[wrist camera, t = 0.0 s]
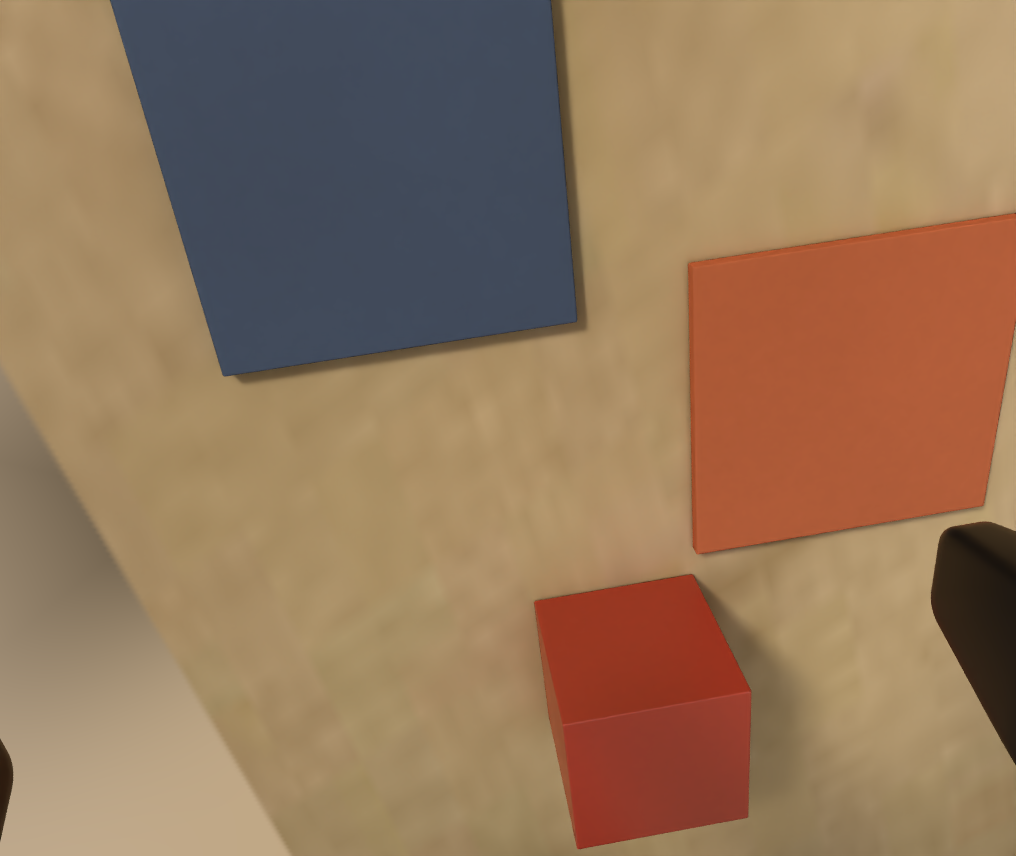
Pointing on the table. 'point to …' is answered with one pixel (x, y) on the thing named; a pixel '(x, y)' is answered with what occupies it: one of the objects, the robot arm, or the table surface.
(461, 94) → the blue mat
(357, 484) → the table surface
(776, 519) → the orange square mat
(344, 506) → the table surface
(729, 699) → the red block
